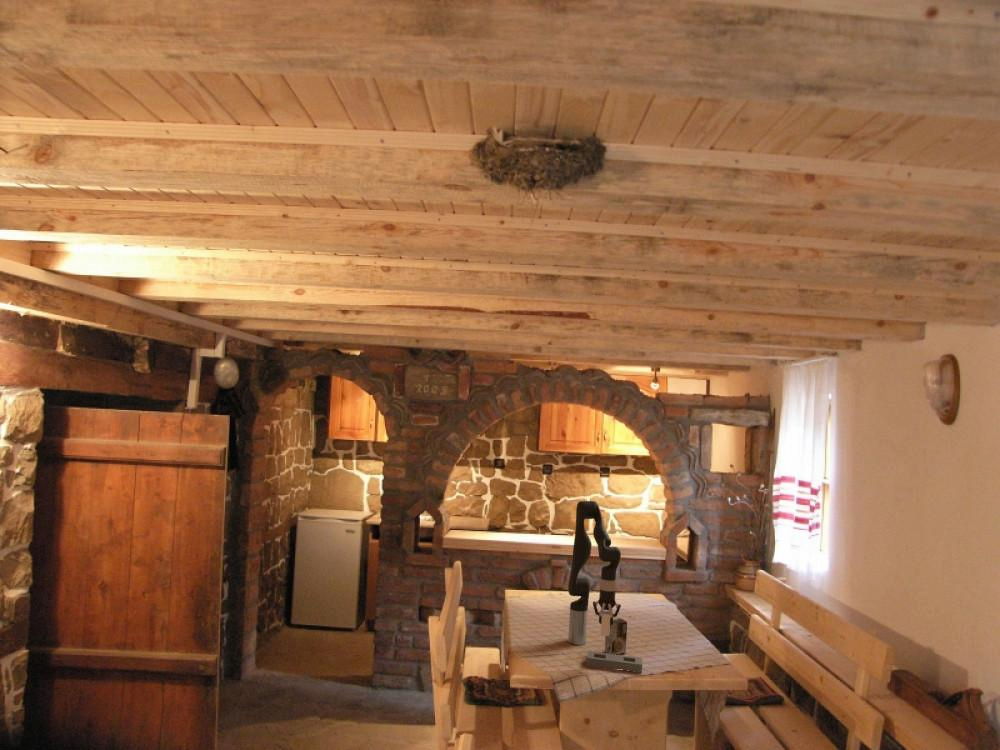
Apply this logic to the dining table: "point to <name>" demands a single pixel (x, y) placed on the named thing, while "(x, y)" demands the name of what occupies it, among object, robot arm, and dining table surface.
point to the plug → (605, 623)
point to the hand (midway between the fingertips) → (605, 624)
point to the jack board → (614, 661)
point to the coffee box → (616, 637)
